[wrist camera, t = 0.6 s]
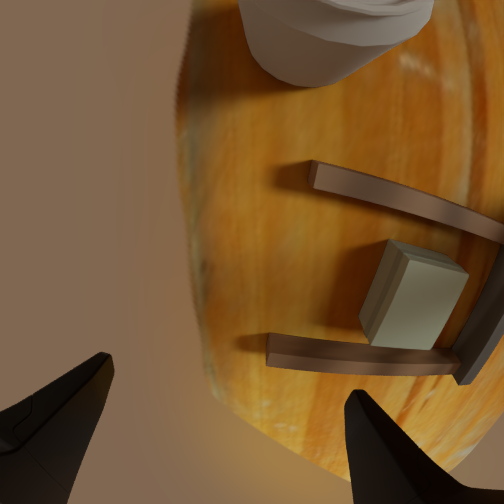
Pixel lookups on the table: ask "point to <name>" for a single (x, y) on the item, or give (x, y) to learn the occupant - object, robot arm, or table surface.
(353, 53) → the can
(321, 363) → the bay
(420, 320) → the block
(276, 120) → the table surface
